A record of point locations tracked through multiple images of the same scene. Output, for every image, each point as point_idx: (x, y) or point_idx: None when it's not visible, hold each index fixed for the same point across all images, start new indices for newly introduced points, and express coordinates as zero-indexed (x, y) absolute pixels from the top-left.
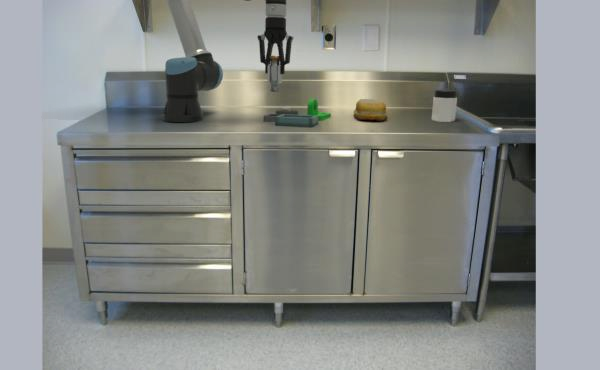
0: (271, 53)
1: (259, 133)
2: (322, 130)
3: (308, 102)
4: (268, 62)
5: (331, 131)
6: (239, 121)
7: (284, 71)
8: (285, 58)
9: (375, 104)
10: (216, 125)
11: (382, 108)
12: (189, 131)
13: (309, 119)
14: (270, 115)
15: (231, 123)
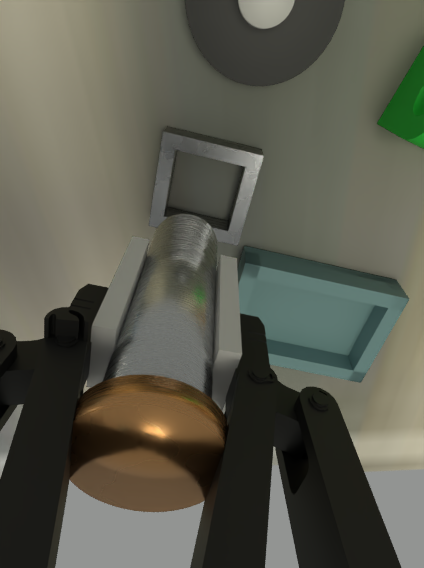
0: (67, 458)
1: None
2: (373, 412)
3: (421, 136)
4: (81, 394)
5: (397, 425)
6: (51, 240)
7: (265, 334)
8: (287, 484)
9: None
10: None
11: None
12: (4, 449)
13: (349, 377)
14: (173, 162)
15: (44, 301)
